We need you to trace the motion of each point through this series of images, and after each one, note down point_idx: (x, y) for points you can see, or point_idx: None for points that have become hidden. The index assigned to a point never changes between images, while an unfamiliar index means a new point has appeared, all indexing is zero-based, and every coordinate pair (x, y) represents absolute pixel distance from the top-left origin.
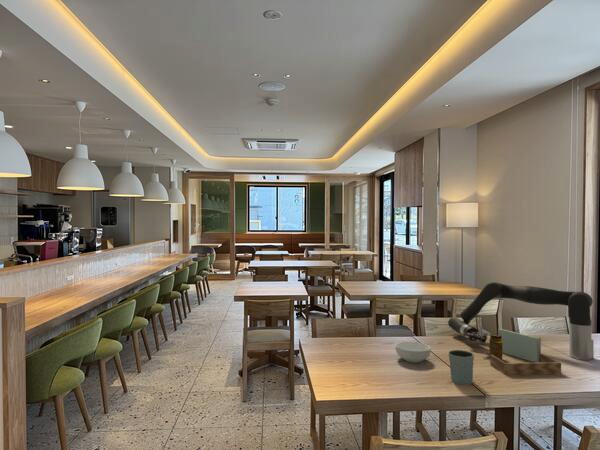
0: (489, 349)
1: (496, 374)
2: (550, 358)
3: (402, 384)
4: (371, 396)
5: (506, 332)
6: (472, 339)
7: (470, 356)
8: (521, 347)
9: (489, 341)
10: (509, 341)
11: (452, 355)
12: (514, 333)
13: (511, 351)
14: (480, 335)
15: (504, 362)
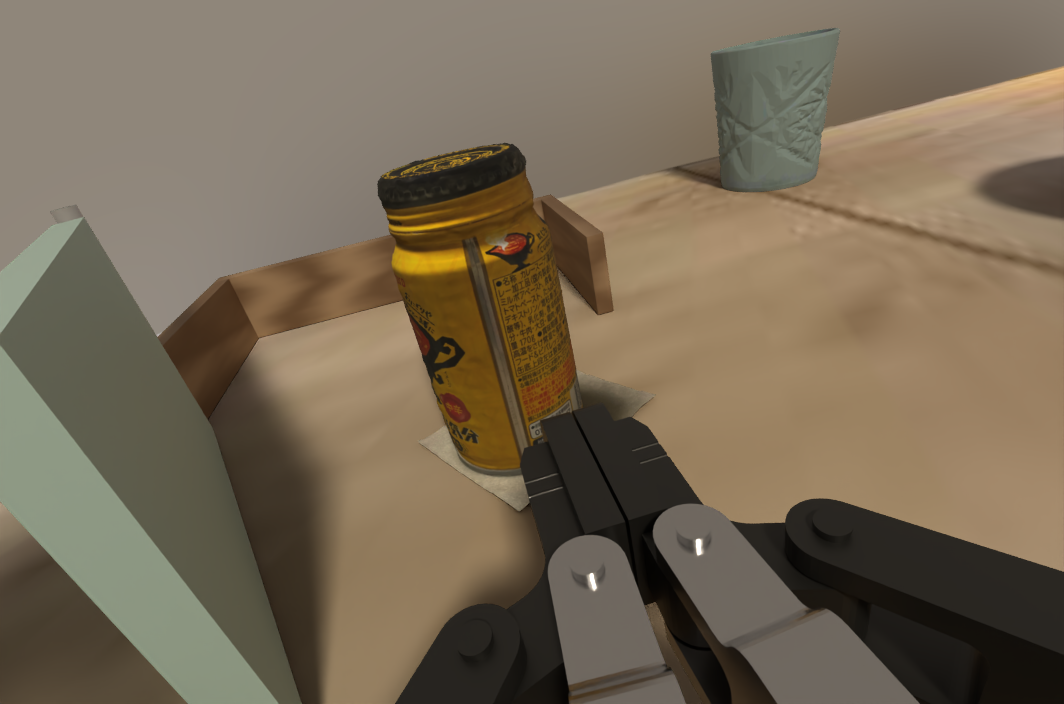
0: (569, 335)
1: None
2: (198, 305)
3: (983, 116)
4: (1007, 84)
5: (62, 315)
6: (917, 627)
7: (724, 49)
8: (171, 396)
9: (551, 238)
10: (160, 437)
11: (806, 33)
12: (66, 262)
13: (233, 536)
14: (629, 643)
15: (547, 200)
